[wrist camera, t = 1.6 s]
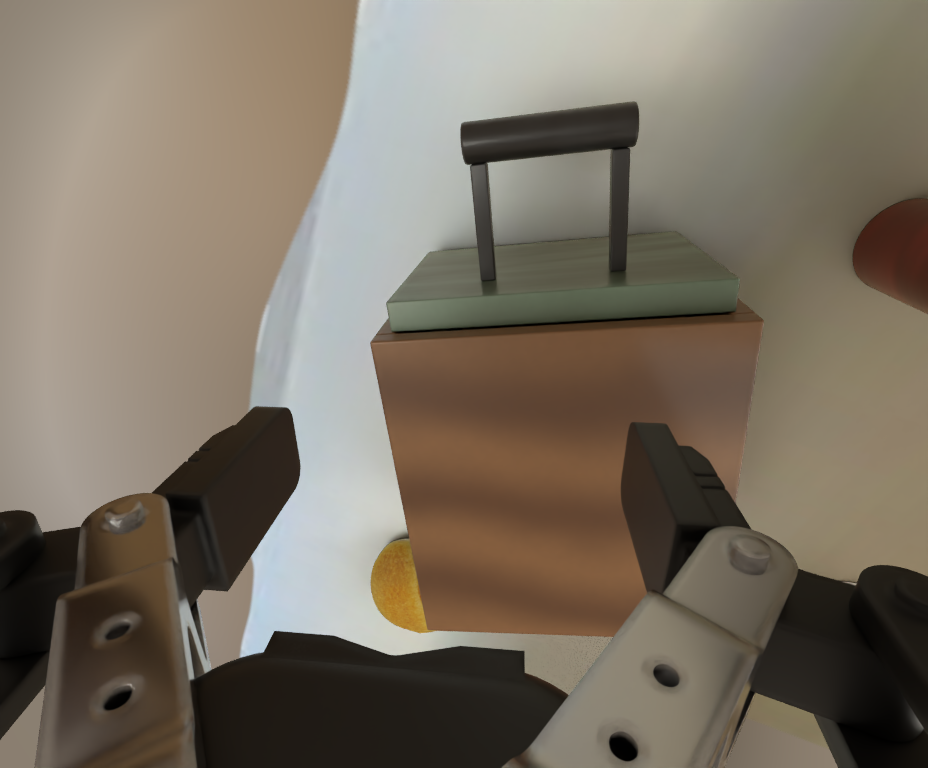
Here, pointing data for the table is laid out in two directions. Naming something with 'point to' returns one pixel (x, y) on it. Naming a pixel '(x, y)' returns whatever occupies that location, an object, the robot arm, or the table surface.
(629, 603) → the cabinet
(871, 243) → the red canister
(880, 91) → the table surface
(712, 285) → the drawer
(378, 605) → the bread roll
